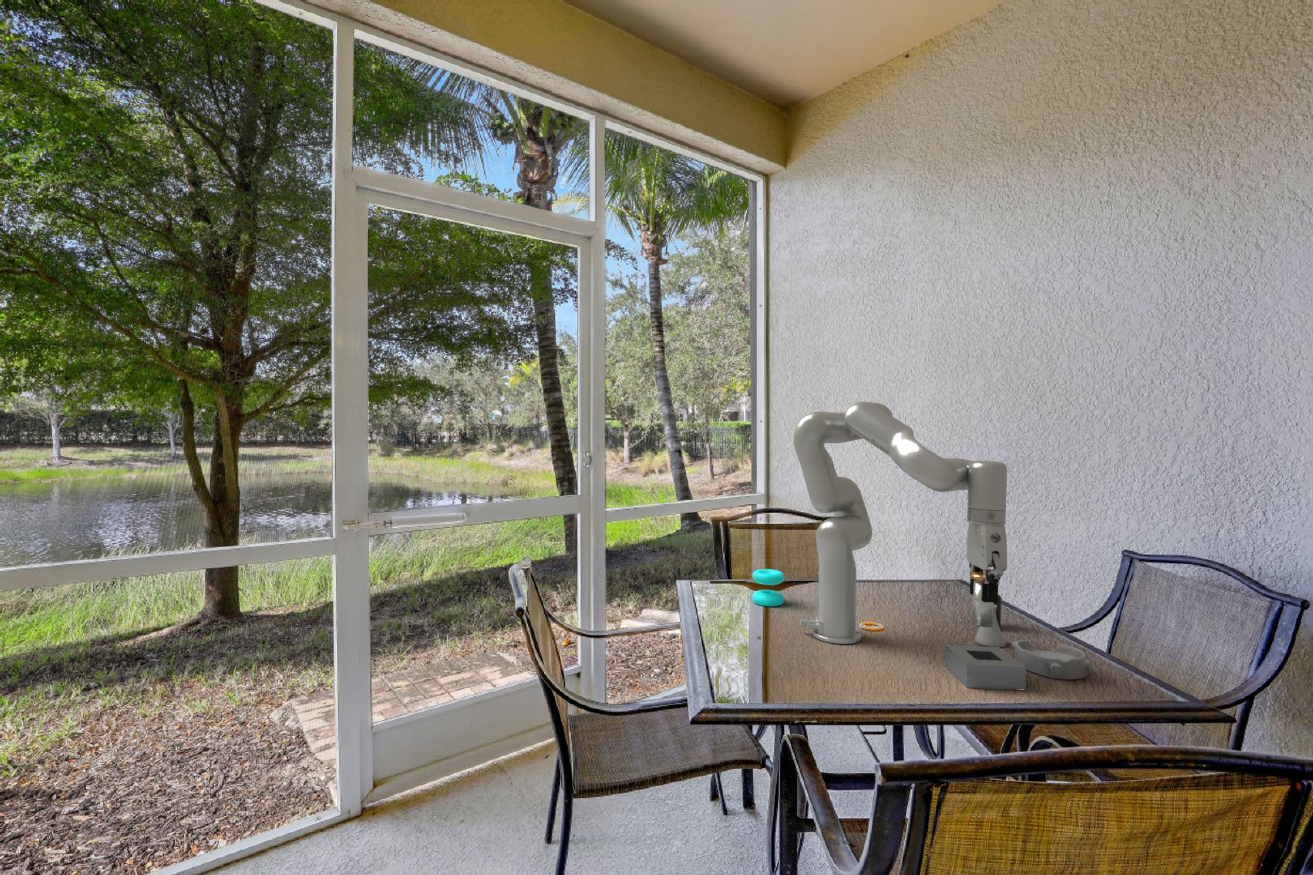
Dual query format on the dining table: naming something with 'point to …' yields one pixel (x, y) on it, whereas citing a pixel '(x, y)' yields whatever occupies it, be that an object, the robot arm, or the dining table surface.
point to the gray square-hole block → (985, 667)
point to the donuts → (768, 595)
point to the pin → (981, 602)
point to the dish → (1052, 660)
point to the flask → (990, 634)
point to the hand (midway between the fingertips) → (983, 597)
